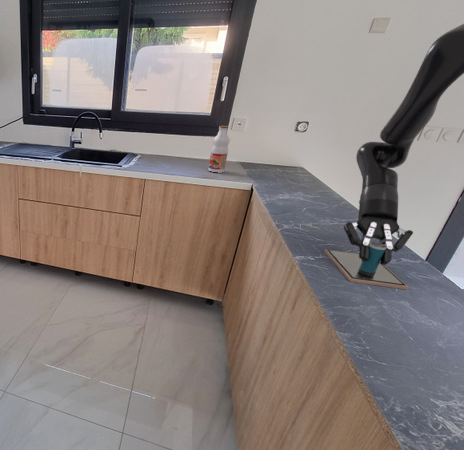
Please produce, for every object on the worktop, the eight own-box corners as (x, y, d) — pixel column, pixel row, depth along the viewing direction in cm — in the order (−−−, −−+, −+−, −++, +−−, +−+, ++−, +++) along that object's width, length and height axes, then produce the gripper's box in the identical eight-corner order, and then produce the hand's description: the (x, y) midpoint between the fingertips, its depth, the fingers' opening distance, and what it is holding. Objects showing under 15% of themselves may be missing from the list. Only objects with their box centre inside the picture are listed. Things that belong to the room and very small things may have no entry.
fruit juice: (226, 173, 193) (235, 126, 182) (210, 173, 194) (218, 126, 183) (220, 169, 202) (228, 125, 191) (205, 170, 203) (212, 125, 192)
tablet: (371, 257, 94) (373, 254, 94) (407, 289, 79) (409, 286, 78) (324, 251, 98) (325, 248, 98) (349, 281, 83) (350, 278, 82)
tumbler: (370, 270, 85) (382, 243, 82) (376, 277, 82) (389, 248, 79) (355, 268, 86) (367, 241, 83) (361, 274, 83) (373, 246, 80)
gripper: (350, 194, 86) (345, 251, 81) (422, 201, 79) (420, 264, 74) (340, 206, 92) (335, 260, 87) (405, 214, 86) (403, 272, 81)
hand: (374, 261), depth 81 cm, fingers closed on tumbler, 3 cm apart
